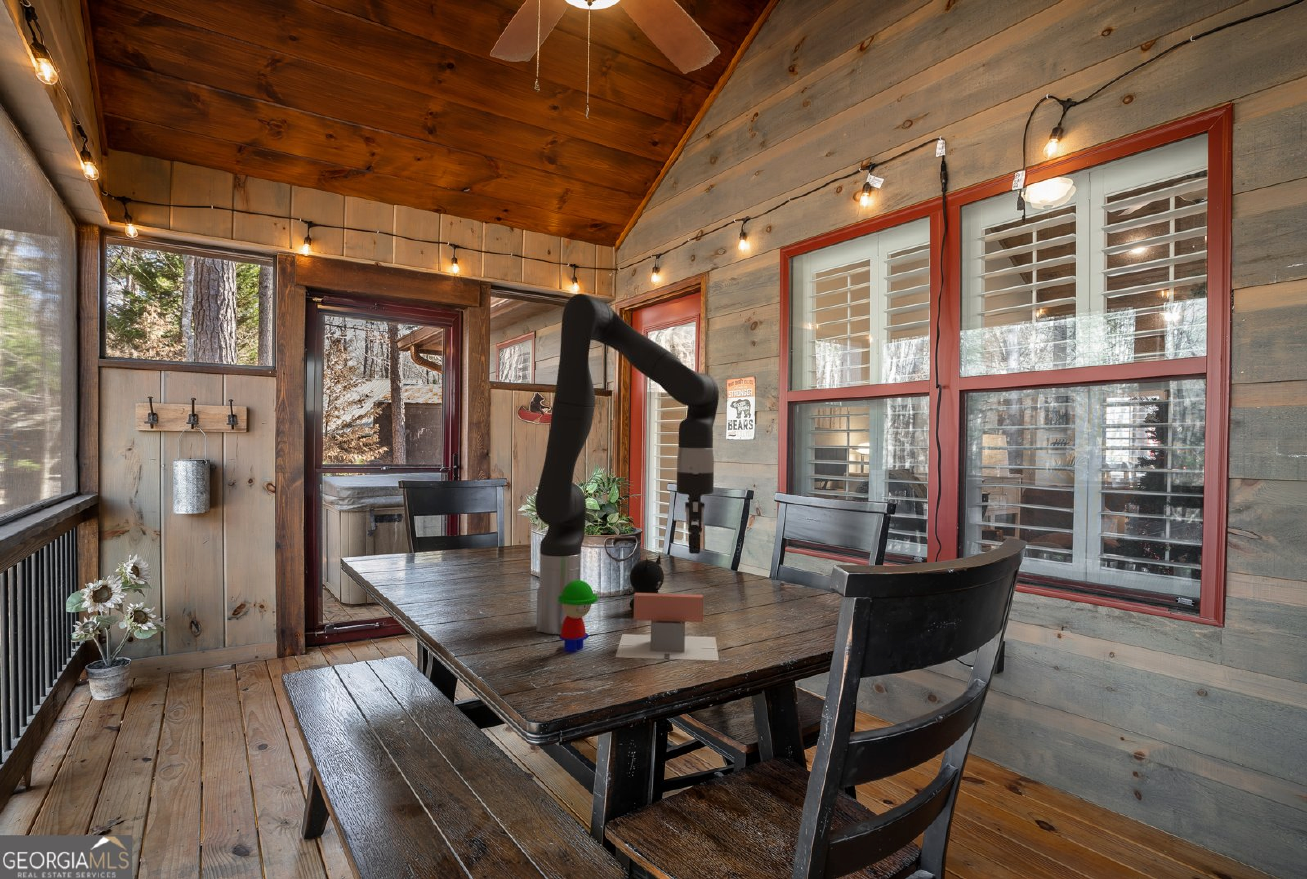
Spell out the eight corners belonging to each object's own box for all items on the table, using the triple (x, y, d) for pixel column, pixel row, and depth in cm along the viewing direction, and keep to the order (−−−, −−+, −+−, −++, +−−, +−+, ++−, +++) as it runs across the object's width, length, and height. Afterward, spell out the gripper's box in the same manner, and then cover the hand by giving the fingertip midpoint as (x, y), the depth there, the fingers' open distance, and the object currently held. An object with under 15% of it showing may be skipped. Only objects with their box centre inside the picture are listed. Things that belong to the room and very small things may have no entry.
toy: (580, 665, 126) (581, 586, 126) (548, 657, 130) (550, 581, 130) (604, 654, 132) (605, 579, 132) (574, 647, 137) (575, 575, 137)
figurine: (661, 624, 155) (662, 561, 155) (617, 614, 163) (618, 553, 163) (700, 611, 167) (701, 552, 167) (657, 602, 176) (658, 546, 176)
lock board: (615, 663, 127) (615, 631, 127) (622, 639, 142) (622, 611, 142) (718, 666, 126) (719, 634, 126) (715, 642, 141) (715, 613, 141)
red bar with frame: (632, 650, 131) (633, 598, 131) (634, 640, 138) (635, 590, 138) (702, 653, 131) (703, 600, 131) (701, 642, 137) (702, 592, 137)
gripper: (677, 468, 142) (676, 544, 141) (676, 471, 127) (675, 555, 127) (712, 469, 141) (711, 544, 141) (715, 472, 127) (714, 556, 127)
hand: (694, 549), depth 134 cm, fingers open, 8 cm apart
